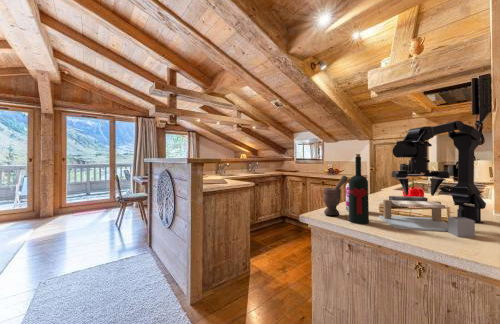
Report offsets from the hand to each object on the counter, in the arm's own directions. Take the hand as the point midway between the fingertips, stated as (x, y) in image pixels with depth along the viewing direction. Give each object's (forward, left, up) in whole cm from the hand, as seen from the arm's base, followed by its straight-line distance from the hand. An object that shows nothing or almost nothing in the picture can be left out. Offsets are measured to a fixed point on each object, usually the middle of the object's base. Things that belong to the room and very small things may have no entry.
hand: (419, 195), depth 91 cm
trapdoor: (0, -7, -4) cm, 8 cm away
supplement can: (+20, -23, -13) cm, 33 cm away
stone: (-8, +11, -13) cm, 18 cm away
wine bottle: (+23, 0, -13) cm, 26 cm away
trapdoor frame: (0, -1, -12) cm, 13 cm away
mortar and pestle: (+31, -14, -13) cm, 36 cm away
